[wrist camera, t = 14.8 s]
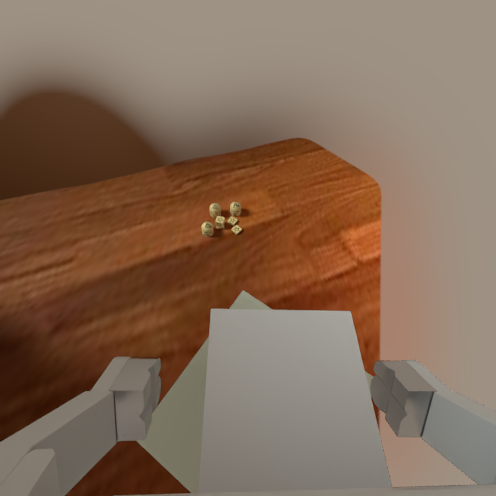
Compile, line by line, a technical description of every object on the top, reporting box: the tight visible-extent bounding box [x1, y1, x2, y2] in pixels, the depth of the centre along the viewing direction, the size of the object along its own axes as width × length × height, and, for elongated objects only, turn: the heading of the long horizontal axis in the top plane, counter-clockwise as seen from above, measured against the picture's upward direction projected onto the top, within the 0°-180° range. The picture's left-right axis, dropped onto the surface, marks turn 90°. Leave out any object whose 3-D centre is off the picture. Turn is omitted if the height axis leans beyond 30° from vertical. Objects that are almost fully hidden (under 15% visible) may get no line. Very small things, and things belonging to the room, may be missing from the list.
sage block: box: [136, 290, 374, 493], centre depth 16 cm, size 10×10×5 cm
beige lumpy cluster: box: [202, 202, 242, 237], centre depth 33 cm, size 5×5×2 cm
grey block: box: [198, 309, 392, 493], centre depth 11 cm, size 5×5×8 cm
